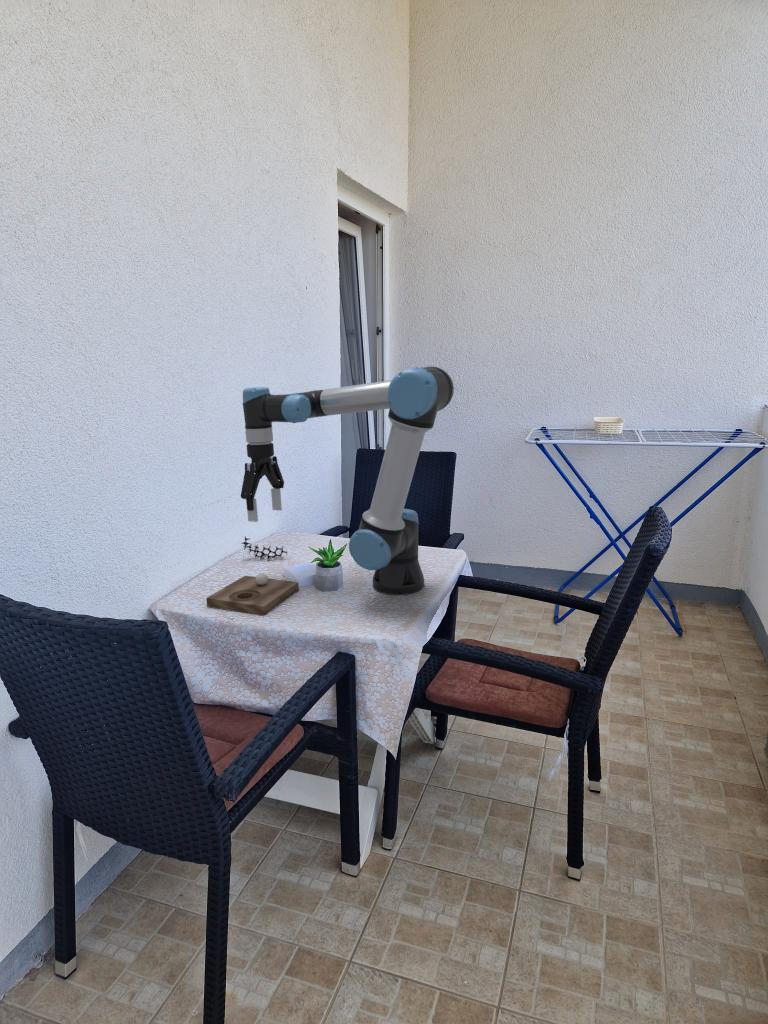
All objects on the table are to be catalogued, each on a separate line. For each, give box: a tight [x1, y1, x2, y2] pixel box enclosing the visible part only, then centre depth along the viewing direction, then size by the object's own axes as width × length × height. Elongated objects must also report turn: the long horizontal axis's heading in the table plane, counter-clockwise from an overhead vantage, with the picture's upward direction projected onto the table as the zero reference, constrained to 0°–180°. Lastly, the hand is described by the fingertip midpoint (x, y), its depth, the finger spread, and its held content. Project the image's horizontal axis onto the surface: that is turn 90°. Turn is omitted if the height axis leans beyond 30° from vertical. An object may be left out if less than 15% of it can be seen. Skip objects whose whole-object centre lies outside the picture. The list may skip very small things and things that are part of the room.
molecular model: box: [240, 535, 289, 561], centre depth 216 cm, size 6×15×8 cm, turn 93°
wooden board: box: [206, 575, 300, 616], centre depth 183 cm, size 18×19×2 cm
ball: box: [255, 572, 269, 585], centre depth 186 cm, size 4×4×4 cm
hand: (265, 515), depth 189 cm, fingers open, 13 cm apart
